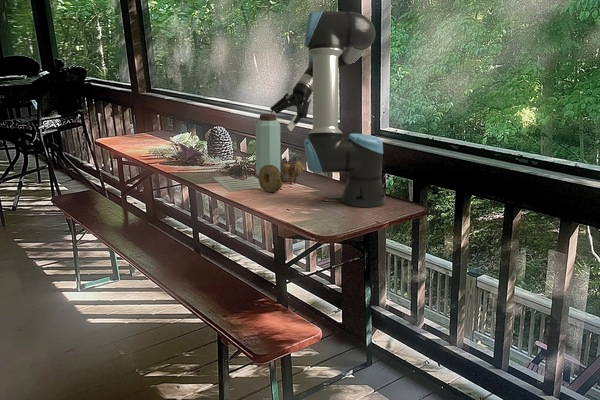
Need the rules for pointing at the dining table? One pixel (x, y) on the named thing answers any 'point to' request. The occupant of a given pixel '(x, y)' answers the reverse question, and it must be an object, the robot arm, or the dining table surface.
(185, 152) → the lily
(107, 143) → the dining table surface
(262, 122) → the water bottle
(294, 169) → the lion figurine
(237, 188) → the letter
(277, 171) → the stone disc
